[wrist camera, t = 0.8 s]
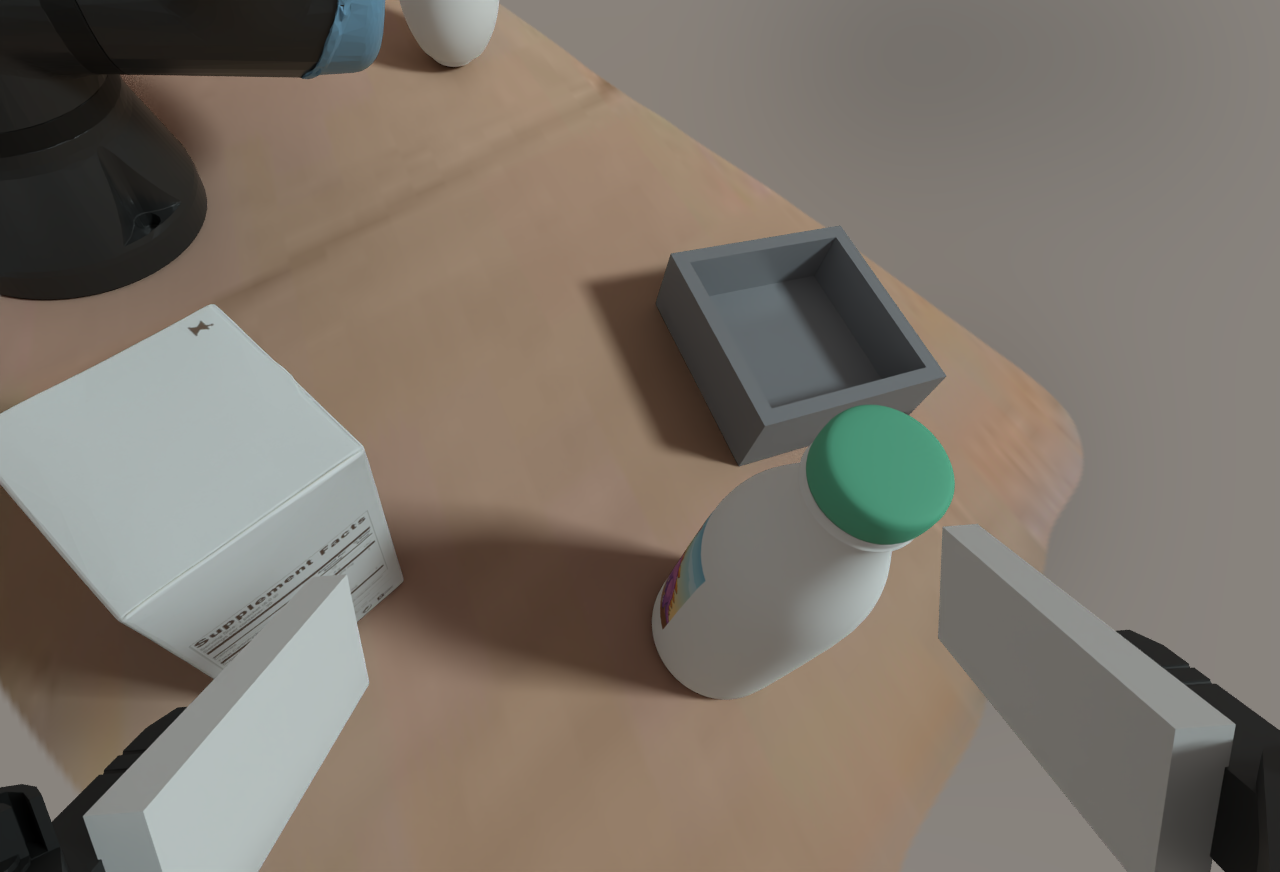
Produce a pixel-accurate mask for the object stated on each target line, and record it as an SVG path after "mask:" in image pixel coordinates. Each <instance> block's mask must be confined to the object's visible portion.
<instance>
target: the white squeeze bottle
mask: <svg viewBox="0 0 1280 872" xmlns="http://www.w3.org/2000/svg"><path fill="white" fill-rule="evenodd" d="M400 4H401V7H402V11H403V14H404V17H405V19H406V22H407V24H408V27H409V29H410V31H411V32H412V34H413V36H414V38H415V39H416V41H417V42H418V44H419V46H420V47H421V48H422V50H423V51H424V52H425V53H426V54H428V55H429V56H431V57H432V58H433V59H434V60H435V61H437V62H438V63H440V64H442V65H445V66H449V67H458V66H463V65H466V64H468V63H470V62H471V60H473V59H475V58H477V57H478V56H480V55H481V53H482V52H483V51H484V49H485V48H486V46H487V44H488V42H489V40H490V38H491V36H492V33H493V30H494V27H495V23H496V19H497V14H498V6H499V0H400Z"/></svg>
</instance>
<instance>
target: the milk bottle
mask: <svg viewBox="0 0 1280 872" xmlns="http://www.w3.org/2000/svg"><path fill="white" fill-rule="evenodd" d="M954 486H955V481H954V473H953V469H952V466H951V463H950V460H949V458H948V456H947V454H946V452H945V450H944V448H943V447H942V445H941V444H940V443H939V441H938V440H937V439H936V437H935V436H934V435H933V434H932V433H931V432H930V431H929V430H928V429H927V428H926V427H925V426H923V425H922V424H921V423H920V422H918V421H917V420H915V419H914V418H912V417H910V416H909V415H907V414H905V413H903V412H901V411H898V410H896V409H893V408H890V407H886V406H881V405H859V406H855V407H851V408H849V409H847V410H845V411H843V412H841V413H839V414H838V415H836V416H835V417H833V418H832V419H831V420H830V421H829V422H828V423H827V424H826V425H825V427H824V428H823V429H822V430H821V431H820V432H819V434H818V435H817V437H816V438H815V440H814V441H813V443H811V444H810V446H809V447H808V448H807V449H806V451H805V452H804V454H803V456H802V458H801V461H800V463H795V464H788V465H783V466H779V467H774V468H771V469H768V470H766V471H763V472H761V473H758V474H756V475H754V476H752V477H751V478H749V479H747V480H746V481H744V482H743V483H741V484H740V485H738V486H737V487H736V488H735V489H734V490H732V491H731V492H730V493H729V494H728V495H727V496H726V497H725V498H724V499H723V500H722V501H721V502H720V504H719V505H718V506H717V507H716V509H715V510H714V511H713V512H712V514H711V515H710V516H709V517H708V519H707V520H706V521H705V523H704V524H703V526H702V527H701V529H700V530H699V531H698V533H697V534H696V536H695V537H694V539H693V540H692V542H691V543H690V545H689V546H688V548H687V549H686V551H685V552H684V554H683V555H682V557H681V558H680V560H679V561H678V563H677V564H676V566H675V567H674V569H673V570H672V572H671V573H670V575H669V576H668V578H667V579H666V581H665V583H664V584H663V586H662V588H661V590H660V592H659V594H658V596H657V598H656V601H655V604H654V608H653V613H652V632H653V638H654V642H655V645H656V648H657V651H658V653H659V656H660V657H661V659H662V661H663V663H664V664H665V666H666V667H667V669H668V670H669V671H670V672H671V674H672V675H673V676H674V677H675V678H676V679H677V680H678V681H679V682H681V683H682V684H683V685H685V686H686V687H687V688H689V689H691V690H692V691H694V692H696V693H698V694H701V695H703V696H706V697H710V698H714V699H724V700H729V699H737V698H742V697H745V696H748V695H750V694H752V693H755V692H757V691H759V690H761V689H763V688H764V687H766V686H768V685H770V684H771V683H773V682H775V681H776V680H778V679H780V678H782V677H783V676H785V675H787V674H788V673H790V672H792V671H793V670H795V669H797V668H798V667H800V666H802V665H803V664H805V663H807V662H808V661H810V660H811V659H813V658H815V657H816V656H818V655H819V654H821V653H823V652H824V651H826V650H827V649H829V648H831V647H832V646H833V645H835V644H836V643H838V642H839V641H840V640H842V639H843V638H845V637H846V636H847V635H849V634H850V633H851V632H852V631H854V630H855V629H856V627H857V626H858V625H859V624H860V623H861V622H862V621H863V620H864V619H865V618H866V617H867V616H868V615H869V613H870V612H871V610H872V609H873V607H874V606H875V604H876V603H877V601H878V599H879V597H880V595H881V593H882V591H883V588H884V586H885V583H886V580H887V577H888V572H889V567H890V561H891V553H892V551H894V550H897V549H900V548H902V547H904V546H906V545H907V544H908V543H910V542H911V541H912V540H913V539H914V538H916V537H917V536H919V535H921V534H922V533H924V532H925V531H927V530H928V529H929V528H931V527H932V526H933V525H934V524H935V523H936V522H938V521H939V520H940V519H941V518H942V516H943V515H944V514H945V512H946V511H947V509H948V507H949V505H950V503H951V501H952V498H953V494H954Z"/></svg>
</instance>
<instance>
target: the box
mask: <svg viewBox="0 0 1280 872" xmlns="http://www.w3.org/2000/svg"><path fill="white" fill-rule="evenodd" d="M656 306H657V307H658V309H659V311H660V313H661V315H662V317H663V319H664V321H665V323H666V325H667V327H668V329H669V331H670V333H671V335H672V337H673V339H674V341H675V343H676V345H677V347H678V348H679V350H680V352H681V354H682V356H683V358H684V360H685V362H686V364H687V366H688V368H689V370H690V372H691V374H692V376H693V378H694V380H695V382H696V384H697V386H698V388H699V389H700V391H701V393H702V395H703V397H704V399H705V401H706V403H707V405H708V407H709V409H710V411H711V413H712V415H713V417H714V419H715V421H716V423H717V425H718V427H719V429H720V430H721V432H722V434H723V436H724V438H725V440H726V442H727V444H728V446H729V448H730V450H731V452H732V454H733V456H734V458H735V460H736V462H737V464H738V466H742V465H745V464H749V463H752V462H756V461H759V460H762V459H766V458H769V457H773V456H776V455H779V454H783V453H786V452H789V451H793V450H796V449H800V448H803V447H806V446H810V444H811V443H813V441H814V440H815V438H816V437H817V435H818V434H819V432H820V431H821V430H822V429H823V428H824V427H825V425H826V424H827V423H828V422H829V421H830V420H831V419H832V418H833V417H835V416H836V415H838V414H839V413H841V412H843V411H845V410H847V409H849V408H851V407H855V406H859V405H881V406H886V407H890V408H893V409H896V410H898V411H901V412H903V413H905V414H907V415H909V414H910V413H911V412H912V411H913V410H914V409H915V408H916V407H917V406H918V405H919V404H920V403H921V402H922V401H923V400H924V399H925V398H926V397H927V396H928V395H929V394H930V393H931V392H932V391H933V390H934V389H935V388H936V387H937V385H938V384H939V383H940V382H941V381H942V380H943V379H944V378H945V377H946V375H945V373H944V372H943V370H942V369H941V368H940V366H939V365H938V363H937V362H936V361H935V359H934V358H933V356H932V355H931V353H930V352H929V351H928V349H927V348H926V346H925V345H924V344H923V342H922V341H921V339H920V338H919V336H918V335H917V334H916V332H915V331H914V329H913V328H912V326H911V325H910V324H909V322H908V321H907V319H906V318H905V317H904V315H903V314H902V312H901V311H900V309H899V308H898V307H897V305H896V304H895V302H894V301H893V300H892V298H891V297H890V295H889V294H888V292H887V291H886V290H885V288H884V287H883V285H882V284H881V282H880V281H879V280H878V278H877V277H876V275H875V274H874V273H873V271H872V270H871V268H870V267H869V265H868V264H867V263H866V261H865V260H864V258H863V257H862V256H861V254H860V253H859V251H858V250H857V248H856V247H855V246H854V244H853V243H852V241H851V240H850V238H849V237H848V236H847V234H846V233H845V231H844V230H843V229H842V227H841V226H835V227H829V228H823V229H817V230H811V231H805V232H799V233H793V234H787V235H781V236H775V237H769V238H763V239H757V240H751V241H745V242H739V243H732V244H726V245H720V246H714V247H708V248H702V249H696V250H690V251H684V252H678V253H672V254H671V255H670V258H669V261H668V265H667V268H666V271H665V274H664V278H663V281H662V284H661V287H660V291H659V294H658V297H657V301H656Z"/></svg>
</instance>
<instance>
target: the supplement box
mask: <svg viewBox="0 0 1280 872" xmlns="http://www.w3.org/2000/svg"><path fill="white" fill-rule="evenodd" d="M0 485H1V486H2V487H3V488H4V489H5V490H6V492H7V493H8V494H9V495H10V496H11V498H12V499H13V500H14V501H15V502H16V503H17V505H18V506H19V507H20V508H21V509H22V511H23V512H24V513H25V514H26V515H27V516H28V518H29V519H30V520H31V521H32V522H33V523H34V525H35V526H36V527H37V528H38V529H39V530H40V532H41V533H42V534H43V535H44V536H45V537H46V539H47V540H48V541H49V542H50V543H51V545H52V546H53V547H54V548H55V549H56V550H57V552H58V553H59V554H60V555H61V556H62V557H63V559H64V560H65V561H66V562H67V563H68V564H69V566H70V567H71V568H72V569H73V570H74V571H75V573H76V574H77V575H78V576H79V577H80V578H81V579H82V581H83V582H84V583H85V584H86V585H87V586H88V587H89V589H90V590H91V591H92V592H93V593H94V594H95V595H96V597H97V598H98V599H99V600H100V601H101V602H102V603H103V605H104V606H105V607H106V608H107V609H108V610H109V611H110V613H111V614H112V615H113V616H114V617H115V618H116V619H117V620H118V621H119V622H121V623H123V624H124V625H126V626H128V627H130V628H131V629H133V630H135V631H137V632H138V633H140V634H142V635H143V636H145V637H147V638H149V639H150V640H152V641H153V642H155V643H157V644H158V645H160V646H161V647H163V648H164V649H166V650H168V651H169V652H171V653H172V654H174V655H176V656H177V657H179V658H181V659H182V660H184V661H186V662H188V663H189V664H191V665H192V666H194V667H195V668H197V669H199V670H200V671H202V672H203V673H205V674H206V675H208V676H210V677H211V678H213V679H215V678H216V677H217V676H218V675H219V674H220V673H221V672H222V671H223V669H224V668H225V667H226V666H227V665H228V664H229V663H230V662H231V661H232V660H233V659H234V658H235V657H236V656H237V655H238V654H239V653H240V652H241V651H242V650H243V649H244V648H245V646H246V645H247V644H248V643H249V642H250V641H251V640H252V639H253V638H254V637H255V636H256V635H257V634H258V633H259V632H260V631H261V630H262V629H263V628H264V627H265V626H266V625H267V624H268V622H269V621H270V620H271V619H272V618H273V617H274V616H275V615H276V614H277V613H278V612H279V611H280V610H281V609H282V608H283V607H284V606H285V605H286V604H287V603H288V602H289V601H290V600H291V598H292V597H293V596H294V595H295V594H296V593H297V592H298V591H299V590H300V589H301V588H302V587H303V586H304V585H305V584H306V583H307V582H308V581H309V580H310V579H311V578H312V577H318V576H331V575H343V574H347V577H348V582H349V587H350V592H351V597H352V602H353V606H354V611H355V616H356V621H357V622H358V621H359V620H360V619H361V618H362V617H363V616H364V615H366V614H367V613H368V612H369V611H370V610H371V609H373V608H374V607H375V606H376V605H377V604H378V603H379V602H381V601H382V600H383V599H384V598H385V597H386V596H388V595H389V594H390V593H391V592H392V591H393V590H395V589H396V588H397V587H398V586H399V585H400V584H401V583H402V582H403V580H404V579H403V575H402V572H401V568H400V565H399V562H398V559H397V556H396V552H395V549H394V545H393V542H392V539H391V535H390V532H389V529H388V525H387V522H386V519H385V516H384V512H383V509H382V506H381V502H380V499H379V495H378V492H377V488H376V485H375V482H374V479H373V475H372V472H371V469H370V465H369V462H368V459H367V456H366V453H365V450H364V447H363V446H362V444H360V443H359V442H358V441H357V440H356V439H355V438H354V437H353V436H352V435H351V434H350V433H349V432H348V431H347V430H346V429H345V428H344V427H343V426H342V425H341V424H340V423H339V422H338V421H336V420H335V419H334V418H333V417H332V416H331V415H330V414H329V413H328V412H327V411H326V410H325V409H324V408H323V407H322V406H321V405H320V404H319V403H318V402H317V401H316V400H315V399H314V398H313V397H312V396H311V395H309V394H308V393H307V392H306V391H305V390H304V389H303V388H302V387H301V386H300V385H299V384H298V383H297V382H296V381H295V379H294V378H293V377H292V376H291V375H290V374H289V373H288V371H287V370H286V369H284V368H283V367H282V366H281V365H279V364H278V363H276V362H275V361H274V360H273V359H272V358H271V357H270V356H269V355H268V354H267V353H266V352H265V351H263V350H262V349H261V348H260V347H259V346H258V345H257V344H256V343H255V342H254V341H253V340H252V339H251V338H250V337H249V336H248V335H247V334H246V333H245V332H244V331H243V330H242V329H241V328H240V327H239V326H238V325H237V324H236V323H235V322H233V321H232V320H231V319H230V318H229V317H228V316H227V315H226V314H225V313H224V312H223V311H222V310H221V309H219V308H218V307H217V306H216V305H214V304H210V305H208V306H206V307H204V308H202V309H200V310H198V311H196V312H194V313H193V314H191V315H189V316H187V317H185V318H184V319H182V320H180V321H178V322H176V323H174V324H173V325H171V326H169V327H167V328H165V329H163V330H161V331H160V332H158V333H156V334H154V335H152V336H150V337H148V338H146V339H145V340H143V341H141V342H139V343H137V344H135V345H133V346H131V347H129V348H128V349H126V350H124V351H122V352H120V353H118V354H116V355H114V356H112V357H111V358H109V359H107V360H105V361H103V362H101V363H99V364H97V365H95V366H93V367H91V368H89V369H87V370H85V371H83V372H81V373H79V374H77V375H75V376H73V377H71V378H69V379H67V380H65V381H63V382H61V383H59V384H57V385H55V386H53V387H51V388H49V389H47V390H45V391H43V392H41V393H39V394H37V395H35V396H33V397H31V398H29V399H27V400H25V401H23V402H21V403H19V404H17V405H15V406H13V407H11V408H10V409H8V410H6V411H4V412H2V413H1V414H0Z"/></svg>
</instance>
